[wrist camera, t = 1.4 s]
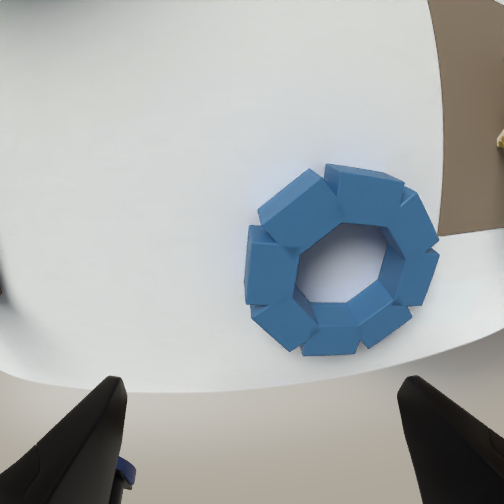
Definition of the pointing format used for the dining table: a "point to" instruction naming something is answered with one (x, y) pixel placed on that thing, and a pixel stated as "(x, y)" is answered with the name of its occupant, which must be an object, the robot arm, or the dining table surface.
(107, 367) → the dining table surface
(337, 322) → the blue ring
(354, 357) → the dining table surface
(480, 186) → the platform
